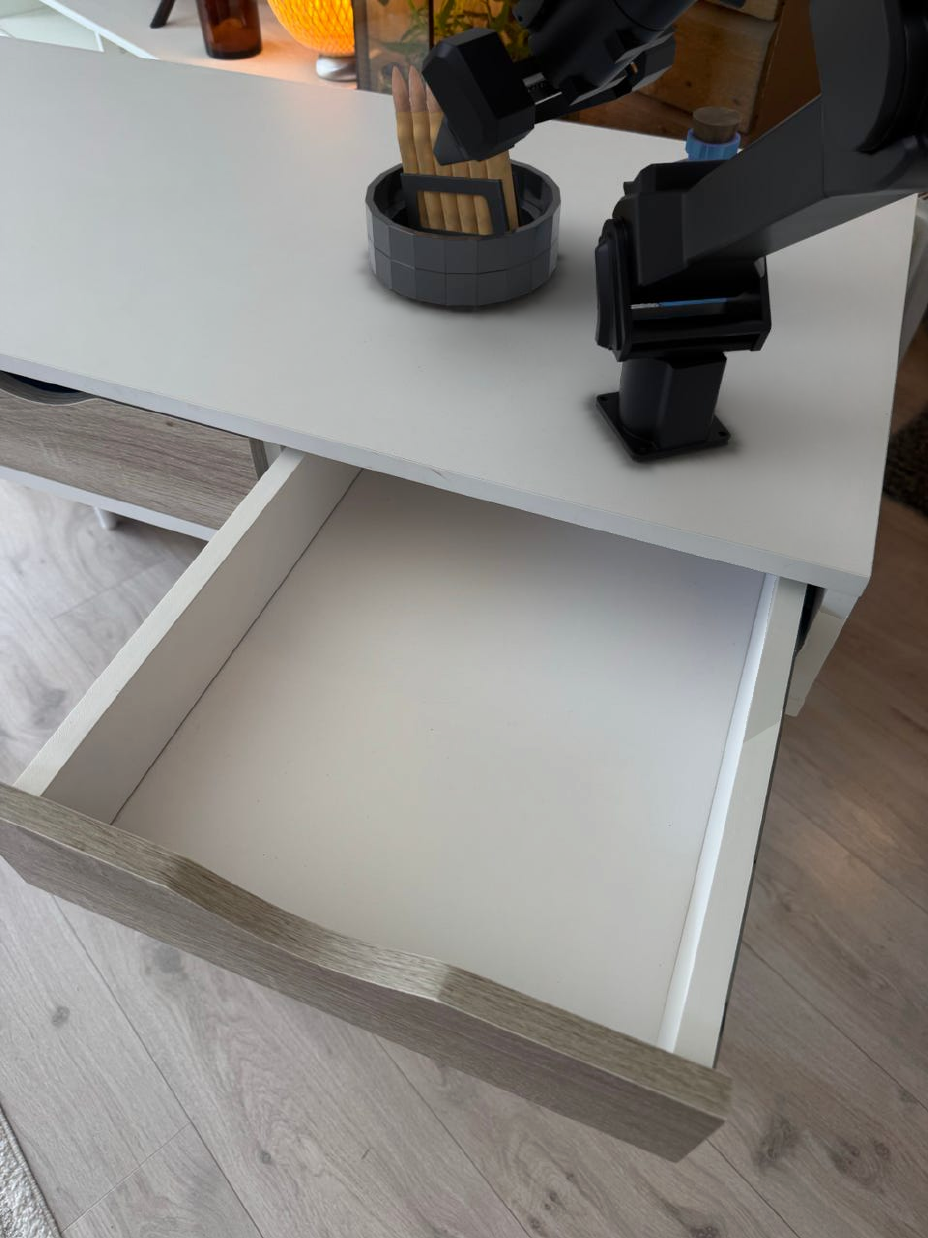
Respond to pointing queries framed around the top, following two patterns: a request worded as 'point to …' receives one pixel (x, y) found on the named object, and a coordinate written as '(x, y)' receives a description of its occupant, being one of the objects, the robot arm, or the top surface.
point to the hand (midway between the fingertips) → (484, 137)
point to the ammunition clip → (448, 174)
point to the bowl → (463, 246)
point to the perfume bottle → (711, 148)
